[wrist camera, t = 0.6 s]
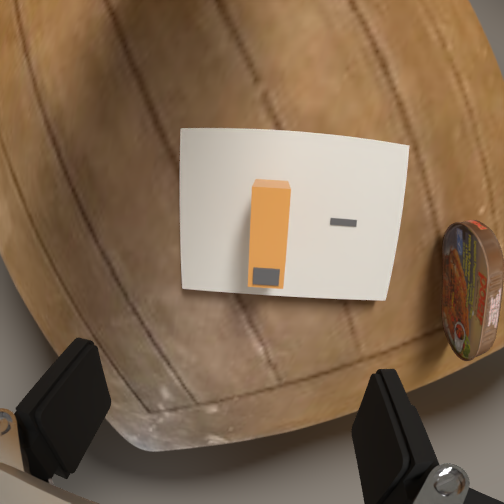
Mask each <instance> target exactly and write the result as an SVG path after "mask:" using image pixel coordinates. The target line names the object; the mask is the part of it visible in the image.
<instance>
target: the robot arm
mask: <svg viewBox="0 0 504 504" xmlns="http://www.w3.org/2000/svg"><path fill="white" fill-rule="evenodd" d="M110 406H111V398H110V395H109V391H108V387H107V384H106V380H105V376H104V372H103V368H102V364H101V360H100V356H99V352H98V348H97V346H95V345H94V343H93V341H91V340H87V339H82V338H76V339H75V340H74V341H73V342H72V343H71V344H70V345H69V346H68V348H67V349H66V350H65V351H64V352H63V353H62V354H61V355H60V357H59V358H58V359H57V360H56V361H55V362H54V363H53V364H52V366H51V367H50V368H49V369H48V370H47V371H46V373H45V374H44V375H43V376H42V377H41V378H40V380H39V381H38V382H37V383H36V384H35V385H34V387H33V388H32V389H31V390H30V391H29V393H28V394H27V395H26V396H25V398H24V399H23V400H22V401H21V402H20V403H19V405H18V406H17V407H16V410H17V411H16V412H15V414H13V413H12V412H11V411H9V410H7V409H3V408H0V504H99V503H95V502H93V501H90V500H88V499H85V498H82V497H80V496H77V495H75V494H72V493H70V492H68V491H65V490H63V489H60V488H58V487H56V486H54V484H53V481H52V477H53V475H54V473H55V474H56V475H58V476H61V477H63V478H65V479H67V478H68V477H69V475H70V473H74V472H75V471H76V469H77V467H78V465H79V463H80V461H81V460H82V458H83V456H84V454H85V452H86V450H87V448H88V447H89V445H90V443H91V441H92V439H93V437H94V436H95V434H96V432H97V430H98V428H99V427H100V425H101V423H102V421H103V419H104V418H105V416H106V414H107V412H108V410H109V409H110ZM352 438H353V444H354V449H355V454H356V459H357V464H358V469H359V475H360V480H361V486H362V492H363V497H364V503H365V504H504V503H503V502H501V501H499V500H496V499H494V498H492V497H489V496H487V495H485V494H482V493H480V492H478V491H476V490H474V489H471V488H469V484H470V482H469V477H468V475H467V473H466V472H465V471H464V470H463V469H462V468H461V467H459V466H457V465H455V464H450V463H449V464H448V463H446V464H441V465H439V463H438V460H437V457H436V455H435V452H434V450H433V447H432V445H431V442H430V440H429V438H428V435H427V433H426V430H425V428H424V426H423V423H422V421H421V418H420V416H419V414H418V412H417V409H416V408H415V406H413V405H411V403H410V401H409V399H408V397H407V394H406V392H405V390H404V387H403V385H402V383H401V381H400V378H399V376H398V374H397V372H396V370H395V369H379V370H377V372H376V374H372V375H371V377H370V380H369V383H368V386H367V389H366V391H365V394H364V397H363V400H362V402H361V405H360V408H359V410H358V413H357V416H356V418H355V421H354V423H353V426H352Z"/></svg>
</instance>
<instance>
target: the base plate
mask: <svg viewBox="0 0 504 504" xmlns="http://www.w3.org/2000/svg"><path fill="white" fill-rule="evenodd" d="M408 155H409V146H408V145H402V144H396V143H390V142H384V141H377V140H370V139H363V138H356V137H348V136H339V135H330V134H320V133H309V132H297V131H283V130H265V129H239V128H181V132H180V245H181V273H182V289H192V290H204V291H216V292H229V293H243V294H258V295H273V296H290V297H309V298H330V299H354V300H386V296H387V292H388V287H389V282H390V278H391V273H392V268H393V263H394V258H395V252H396V247H397V241H398V235H399V229H400V223H401V216H402V209H403V201H404V194H405V185H406V176H407V166H408ZM256 179H266V180H282V181H288V182H289V185H290V188H291V197H290V212H289V225H288V238H287V251H286V263H285V274H284V286H283V289H275V288H260V287H248V266H249V242H250V219H251V195H252V185H253V183H254V182H255V180H256Z"/></svg>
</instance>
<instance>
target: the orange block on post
mask: <svg viewBox="0 0 504 504" xmlns="http://www.w3.org/2000/svg"><path fill="white" fill-rule="evenodd" d="M290 197H291V188H290V185H289V182H288V181H282V180H266V179H256V180H255V182H254V183H253V185H252V195H251V219H250V242H249V266H248V287H260V288H275V289H283V286H284V274H285V263H286V251H287V238H288V225H289V212H290Z"/></svg>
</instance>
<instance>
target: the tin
mask: <svg viewBox="0 0 504 504" xmlns="http://www.w3.org/2000/svg"><path fill="white" fill-rule="evenodd" d="M442 256H443V289H442V320H443V326H444V331H445V334H446V337H447V339H448V342H449V344H450V346H451V348H452V350H453V351H454V353H455V354H456V355H457V356H458V357H459V358H460V359H462V360H464V361H470V360H472V359H474V358H475V357H477V356H479V355H482V354H484V353H485V352H487V351H488V350H489V349H490V348H491V347H492V345H493V343H494V341H495V338H496V333H497V327H498V322H499V315H500V308H501V300H502V292H503V282H504V259H503V254H502V250H501V247H500V244H499V242H498V240H497V238H496V236H495V234H494V233H493V231H492V230H491V229H490V228H489V227H487V226H486V225H485V224H483V223H481V222H480V221H477V220H469V221H464V222H456V223H453V224H451V225H450V226H449V227H448V229H447V230H446V232H445V235H444V239H443V246H442Z"/></svg>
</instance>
